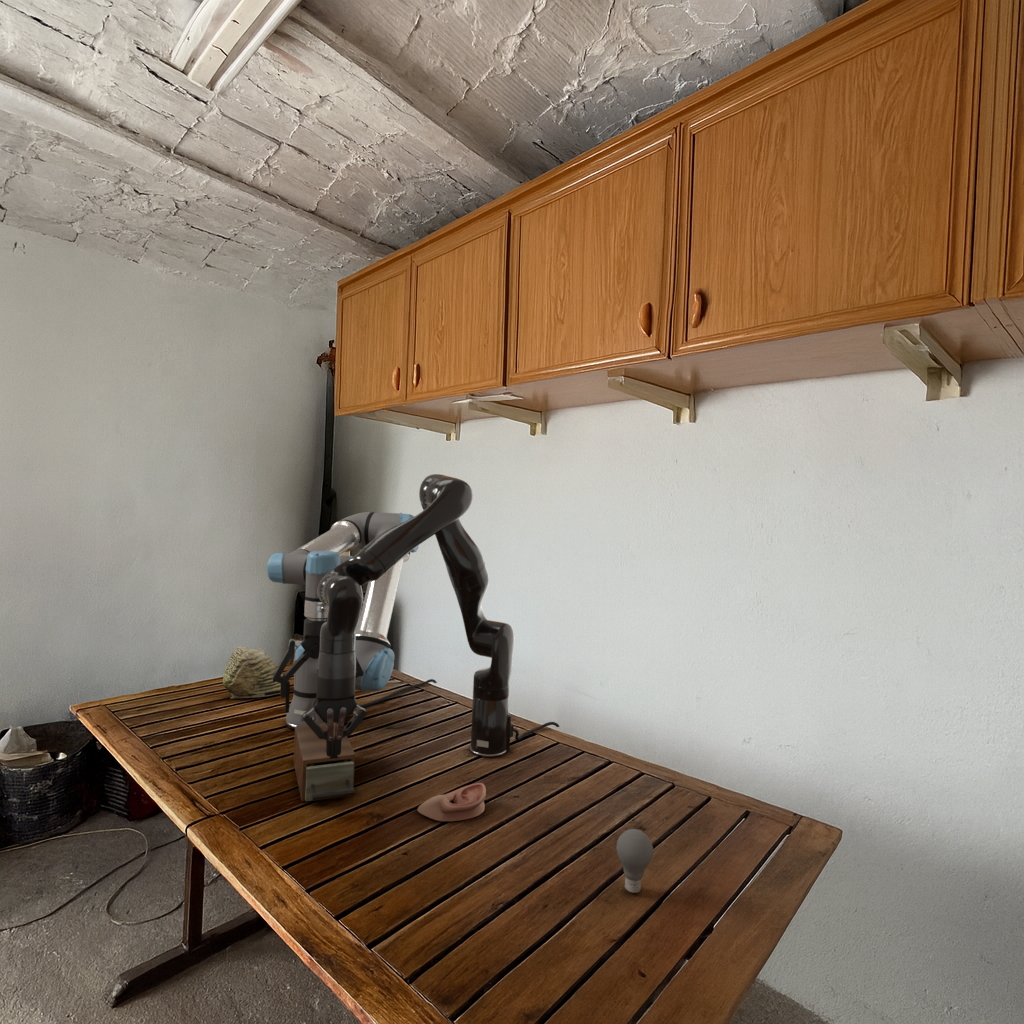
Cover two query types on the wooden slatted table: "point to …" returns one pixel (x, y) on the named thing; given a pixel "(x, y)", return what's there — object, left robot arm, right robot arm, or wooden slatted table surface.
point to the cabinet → (315, 753)
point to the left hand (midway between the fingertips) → (317, 708)
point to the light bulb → (634, 857)
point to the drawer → (329, 780)
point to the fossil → (250, 674)
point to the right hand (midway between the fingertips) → (333, 757)
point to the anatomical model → (456, 804)
